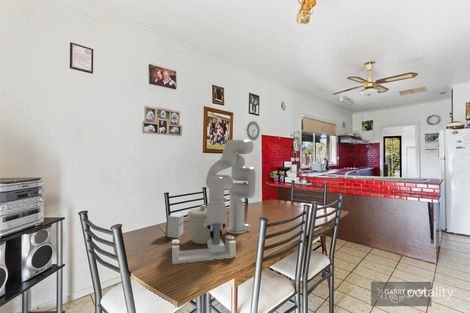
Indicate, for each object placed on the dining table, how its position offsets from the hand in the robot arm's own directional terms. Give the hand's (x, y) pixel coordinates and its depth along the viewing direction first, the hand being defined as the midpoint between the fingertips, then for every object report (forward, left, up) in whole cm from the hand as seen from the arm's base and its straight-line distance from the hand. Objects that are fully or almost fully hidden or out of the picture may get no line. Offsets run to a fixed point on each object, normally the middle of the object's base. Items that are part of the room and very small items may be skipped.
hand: (215, 237), depth 116 cm
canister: (+4, -20, -9) cm, 22 cm away
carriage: (0, 0, -5) cm, 5 cm away
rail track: (+6, 0, -9) cm, 11 cm away
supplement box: (+19, -33, -9) cm, 39 cm away
